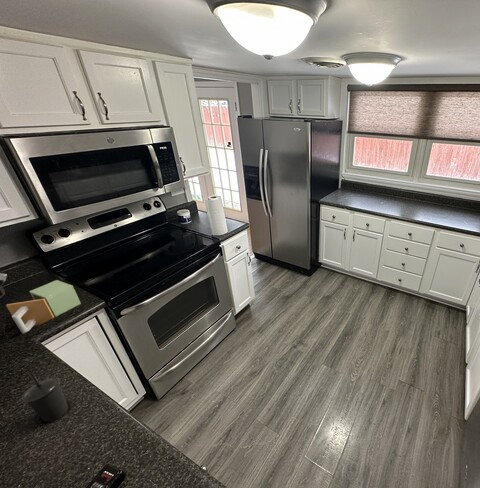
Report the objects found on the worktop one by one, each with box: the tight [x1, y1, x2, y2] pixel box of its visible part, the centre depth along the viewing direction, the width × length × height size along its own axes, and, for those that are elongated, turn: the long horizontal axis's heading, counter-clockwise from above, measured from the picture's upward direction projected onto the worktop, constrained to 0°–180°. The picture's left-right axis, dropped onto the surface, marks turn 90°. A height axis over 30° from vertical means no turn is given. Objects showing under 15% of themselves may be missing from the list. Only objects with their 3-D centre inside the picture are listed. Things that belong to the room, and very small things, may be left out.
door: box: [5, 299, 55, 334], centre depth 111 cm, size 8×12×13 cm, turn 111°
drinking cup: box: [21, 371, 69, 423], centre depth 77 cm, size 8×8×20 cm
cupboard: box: [29, 279, 82, 318], centre depth 122 cm, size 10×12×13 cm
